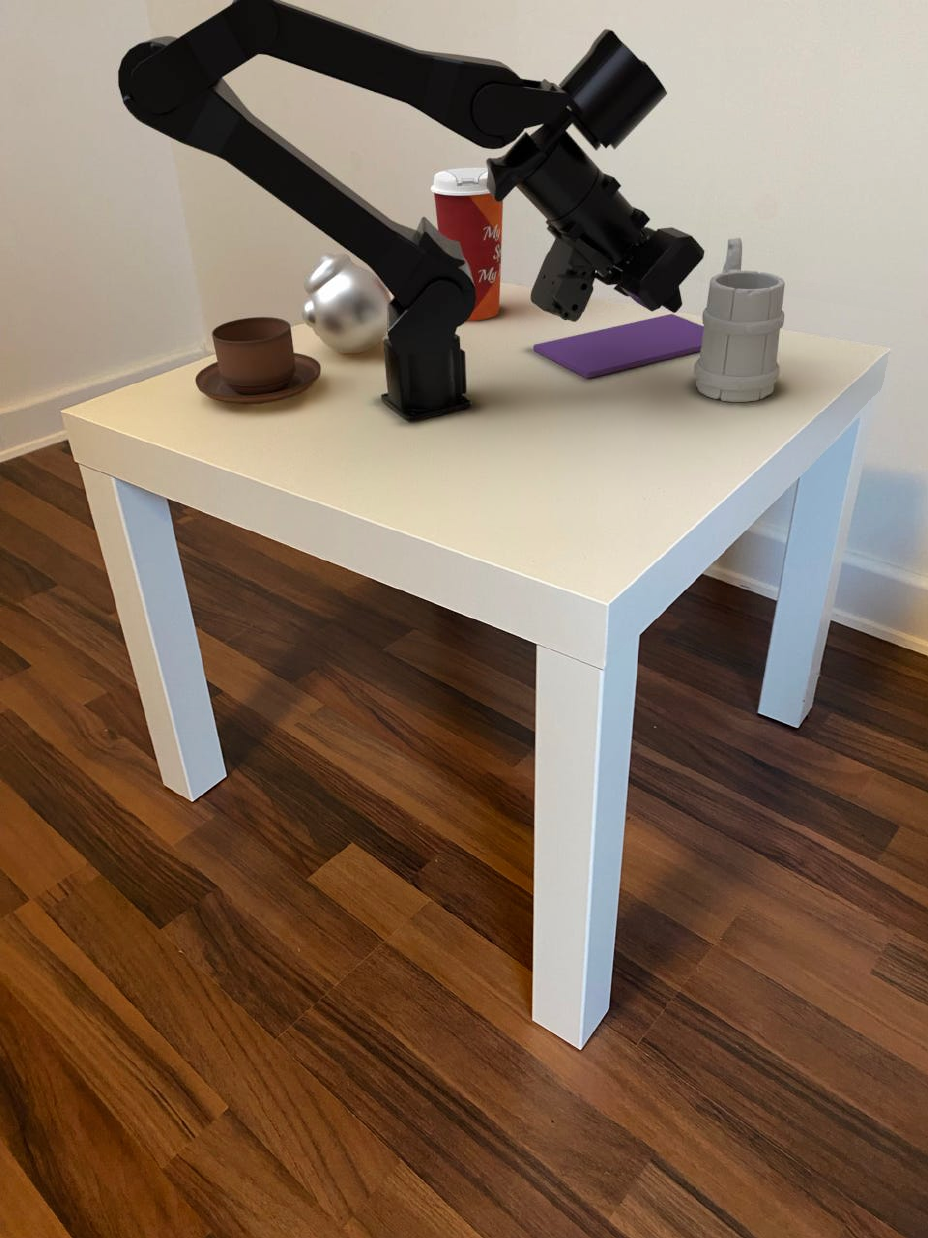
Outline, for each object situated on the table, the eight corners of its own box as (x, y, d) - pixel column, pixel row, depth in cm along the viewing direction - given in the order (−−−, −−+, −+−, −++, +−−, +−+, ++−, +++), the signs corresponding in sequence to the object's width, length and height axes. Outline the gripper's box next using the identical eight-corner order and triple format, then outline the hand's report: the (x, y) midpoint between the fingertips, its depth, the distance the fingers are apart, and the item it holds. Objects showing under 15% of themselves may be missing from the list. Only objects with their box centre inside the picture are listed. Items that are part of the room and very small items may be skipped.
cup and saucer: (178, 390, 96) (165, 328, 93) (285, 361, 102) (276, 302, 99) (233, 426, 88) (221, 360, 85) (346, 392, 94) (339, 328, 91)
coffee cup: (509, 322, 110) (507, 178, 101) (436, 325, 110) (428, 182, 102) (507, 300, 117) (505, 164, 108) (439, 303, 117) (431, 167, 109)
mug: (701, 405, 88) (715, 268, 81) (678, 360, 98) (688, 234, 91) (786, 402, 88) (807, 264, 81) (755, 357, 98) (771, 231, 91)
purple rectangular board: (587, 378, 95) (587, 372, 94) (533, 350, 102) (533, 344, 102) (732, 343, 101) (732, 337, 101) (671, 318, 109) (671, 313, 108)
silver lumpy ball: (345, 331, 110) (335, 238, 104) (412, 345, 105) (405, 248, 99) (289, 356, 104) (275, 258, 98) (357, 371, 99) (346, 270, 93)
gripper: (472, 245, 91) (577, 345, 100) (549, 298, 76) (664, 411, 85) (552, 145, 88) (653, 257, 97) (648, 180, 74) (756, 309, 83)
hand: (677, 308), depth 91 cm, fingers closed
